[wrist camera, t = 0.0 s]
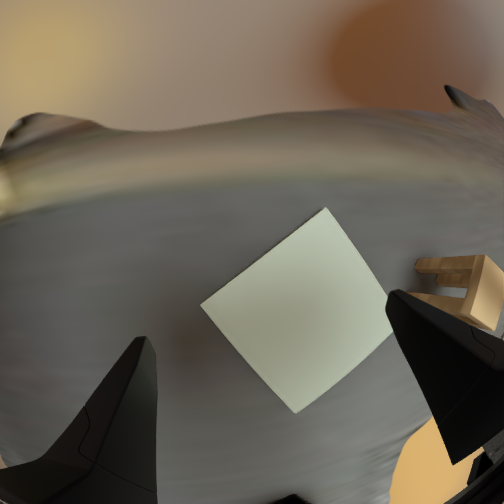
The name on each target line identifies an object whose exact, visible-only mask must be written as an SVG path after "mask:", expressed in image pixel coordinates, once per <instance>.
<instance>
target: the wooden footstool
mask: <svg viewBox="0 0 504 504" xmlns="http://www.w3.org/2000/svg"><path fill="white" fill-rule="evenodd" d="M415 270H417V271H418V272H420V273H421V274H438V276H437V280H436V283H437V284H439V285H440V286H442V287H456V288H468V289H467V292H466V296H465V298H457V297H448V296H439V295H430V294H422V293H414V292H406V293H408V294H410V295H412V296H414V297H416V298H418V299H420V300H422V301H424V302H426V303H428V304H430V305H432V306H435V307H437V308H439V309H441V310H443V311H444V312H446V313H448V314H450V315H452V316H454V317H456V318H458V319H460V320H462V321H464V322H466V323H468V324H469V325H472V326H474V327H477V328H482V329H487V330H491V331H495V329H496V325H497V322H498V319H499V316H500V312H501V308H502V305H503V301H504V273H503V272H502V271H501V269H500V268H499V267H498V266H497V265H496V264H495V263H494V262H493V261H492V260H491V259H490V258H489V257H488V256H487V255H473V256H458V257H442V258H425V259H418V260H417V263H416V266H415Z"/></svg>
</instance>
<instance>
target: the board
mask: <svg viewBox="0 0 504 504" xmlns="http://www.w3.org/2000/svg"><path fill="white" fill-rule="evenodd" d="M387 298H388V297H387V295H386V294H385V292H384V291H383V289H382V287H381V286H380V284H379V283H378V281H377V280H376V278H375V276H374V275H373V273H372V272H371V270H370V269H369V267H368V266H367V264H366V263H365V261H364V260H363V258H362V257H361V255H360V254H359V252H358V251H357V249H356V248H355V247H354V245H353V244H352V242H351V241H350V239H349V238H348V237H347V235H346V234H345V232H344V231H343V230H342V228H341V227H340V225H339V224H338V223H337V221H336V220H335V219H334V217H333V216H332V214H331V213H330V212H329V210H328V209H327V208H324V209H322V210H321V211H320V212H319V213H317V214H316V215H315V216H313V217H312V218H311V219H310V220H308V221H307V222H306V223H305V224H303V225H302V226H301V227H299V228H298V229H297V230H296V231H294V232H293V233H292V234H291V235H289V236H288V237H287V238H285V239H284V240H283V241H282V242H280V243H279V244H278V245H276V246H275V247H274V248H273V249H271V250H270V251H269V252H267V253H266V254H265V255H264V256H262V257H261V258H260V259H258V260H257V261H256V262H255V263H253V264H252V265H251V266H249V267H248V268H247V269H246V270H244V271H243V272H242V273H240V274H239V275H238V276H237V277H235V278H234V279H233V280H231V281H230V282H229V283H227V284H226V285H225V286H224V287H222V288H221V289H220V290H218V291H217V292H216V293H214V294H213V295H212V296H211V297H209V298H208V299H207V300H205V301H204V302H203V303H201V305H200V306H201V307H202V308H203V309H204V311H205V312H206V313H207V315H208V316H209V317H210V318H211V319H212V321H213V322H214V323H215V324H216V326H217V327H218V328H219V329H220V331H221V332H222V333H223V334H224V335H225V337H226V338H227V339H228V340H229V341H230V343H231V344H232V345H233V346H234V347H235V348H236V350H237V351H238V352H239V353H240V354H241V355H242V357H243V358H244V359H245V360H246V361H247V362H248V363H249V365H250V366H251V367H252V368H253V369H254V370H255V371H256V373H257V374H258V375H259V376H260V377H261V378H262V379H263V380H264V381H265V382H266V384H267V385H268V386H269V387H270V388H271V389H272V390H273V391H274V392H275V393H276V394H277V395H278V396H279V398H280V399H281V400H282V401H283V402H284V403H285V404H286V405H287V406H288V407H289V408H290V409H291V410H292V411H293V412H294V413H295V414H296V413H298V412H299V411H300V410H302V409H303V408H305V407H306V406H307V405H309V404H310V403H311V402H313V401H314V400H315V399H317V398H318V397H319V396H321V395H322V394H323V393H325V392H326V391H327V390H328V389H330V388H331V387H332V386H333V385H335V384H336V383H337V382H338V381H340V380H341V379H342V378H343V377H344V376H345V375H347V374H348V373H349V372H350V371H351V370H352V369H354V368H355V367H356V366H357V365H358V364H359V363H360V362H362V361H363V360H364V359H365V358H366V357H367V356H368V355H369V354H370V353H371V352H372V351H373V350H375V349H376V348H377V347H378V346H379V345H380V344H381V343H382V342H383V341H384V340H385V339H386V338H387V337H388V336H389V335H390V334H391V333H392V332H393V329H392V327H391V324H390V322H389V320H388V317H387V315H386V312H385V306H386V302H387Z"/></svg>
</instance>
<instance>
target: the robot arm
mask: <svg viewBox="0 0 504 504" xmlns="http://www.w3.org/2000/svg"><path fill="white" fill-rule="evenodd" d="M385 312H386V315H387V317H388V320H389V322H390V324H391V327H392V329H393V332H394V334H395V337H396V339H397V341H398V344H399V346H400V348H401V350H402V352H403V354H404V356H405V357H406V359H407V361H408V363H409V365H410V367H411V369H412V371H413V373H414V375H415V377H416V380H417V382H418V384H419V386H420V388H421V390H422V392H423V394H424V397H425V399H426V401H427V403H428V405H429V408H430V410H431V412H432V414H433V417H434V419H435V421H436V424H437V425H438V429H439V431H440V434H441V436H442V439H443V441H444V444H445V447H446V449H447V452H448V455H449V457H450V460H451V463H452V465H455V464H456V463H458V462H459V461H461V460H463V459H464V458H466V457H467V456H468V455H470V454H472V453H473V452H475V451H476V450H477V449H479V448H480V447H483V449H484V451H483V452H482V453H481V454H480V455H479V456H477V457H476V458H475V459H474V461H473V464H472V468H471V472H470V475H469V478H468V481H467V485H468V486H467V487H466V488H465V489H463V490H462V491H461V492H459V493H458V494H457V495H455V496H454V497H453V498H451V499H450V500H449V501H447V502H445V503H444V504H504V340H502V339H499V338H497V337H495V336H493V335H490V334H488V333H486V332H484V331H482V330H480V329H478V328H476V327H474V326H472V325H469V324H468V323H466V322H464V321H462V320H460V319H458V318H456V317H454V316H452V315H450V314H448V313H446V312H444V311H443V310H441V309H439V308H437V307H435V306H432V305H430V304H428V303H426V302H424V301H422V300H420V299H418V298H416V297H414V296H412V295H410V294H408V293H406V292H404V291H402V290H400V289H397V290H393V291H390V292H389V294H388V298H387V302H386V306H385ZM157 396H158V392H157V372H156V354H155V351H154V349H153V347H152V345H151V343H150V341H149V339H148V337H146V336H140V337H136V338H135V339H134V340H133V341H132V342H131V344H130V345H129V346H128V347H127V349H126V350H125V351H124V353H123V354H122V355H121V357H120V358H119V359H118V361H117V362H116V363H115V364H114V366H113V367H112V368H111V370H110V371H109V372H108V374H107V375H106V376H105V378H104V379H103V380H102V382H101V383H100V384H99V386H98V387H97V389H96V390H95V391H94V393H93V394H92V395H91V397H90V398H89V399H88V401H87V402H86V404H85V406H83V408H82V409H81V410H80V412H79V413H78V415H77V416H76V417H75V419H74V420H73V421H72V423H71V424H70V425H69V426H68V427H67V429H66V430H65V431H64V432H63V433H62V435H61V436H60V437H59V438H58V439H57V440H56V441H55V443H54V444H53V445H52V446H51V447H50V448H49V450H48V451H47V452H46V453H45V454H44V455H43V456H41V457H40V458H38V459H37V460H34V461H31V462H28V463H24V464H20V465H16V466H12V467H8V468H4V469H0V499H1V500H2V501H4V503H3V502H0V504H158V502H157V482H156V421H157ZM275 504H310V503H308V502H307V501H305V500H303V499H302V498H300V497H298V496H297V495H291V496H289V497H287V498H285V499H283V500H281V501H279V502H277V503H275Z"/></svg>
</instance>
